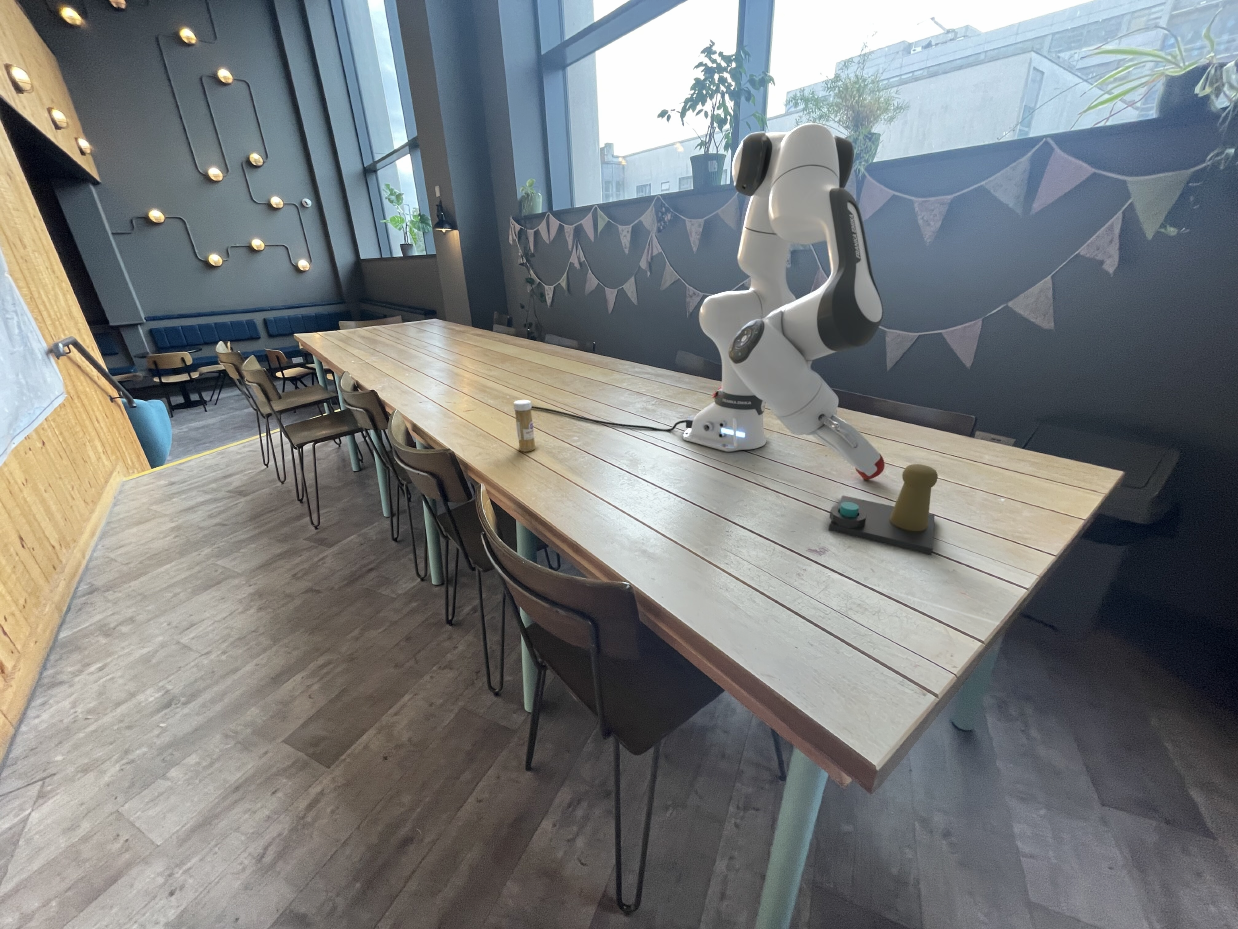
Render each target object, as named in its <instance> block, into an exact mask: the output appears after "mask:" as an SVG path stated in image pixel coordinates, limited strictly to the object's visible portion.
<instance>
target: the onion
mask: <svg viewBox="0 0 1238 929" xmlns="http://www.w3.org/2000/svg"><path fill="white" fill-rule="evenodd" d="M879 454H880V459H879V460H878V461H877V462H876V463H875V464H874V465H875V466H876V467H877V471H876V472H875V473H873V474H872V475H871V476H868V475H866V474H865V473H864V472H861V471H859V470H858V469H856V468H855V467H854V469H855V471H856V473H857V474H858V475H859V476H860V477H861V478H862V479H863V480H864V481H869V480H872V479H875V478H876V477H879V475H881V474H882V473H883V472H884V470H885V460H884V458H883V456H882V454H881V453H880V452H879Z"/></svg>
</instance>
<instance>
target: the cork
mask: <svg viewBox="0 0 1238 929" xmlns="http://www.w3.org/2000/svg"><path fill="white" fill-rule="evenodd" d="M901 476H902V481H903V485H902V487H901V489H900V491H899V494H898V497H897V498H896V501H895V504H894V505H893V506H894V508H893V511H892V513H891V516H890V518H889V519H890V522H891V523H892V524H894V525H895V526H897V527H900V528H902V529H906V530H911V531H922V530H925V529H927V526H928V517H929V514H930V506H931V495H932V488H933V487H934V486H936V484H937V481H938V479H939V477H938V476H939V475H938V473H937V470H936V469H934V468H933V467H931V466H929V465H926V464H920V463H913V464H909V465H907V466H906V467H904V470H903V471H902V475H901Z"/></svg>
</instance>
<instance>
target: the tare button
mask: <svg viewBox="0 0 1238 929" xmlns="http://www.w3.org/2000/svg"><path fill="white" fill-rule="evenodd" d="M858 510H859V506H858V505H857V504H855V503H851V502H843V503H841V506H840V512H839V513H840V514H841V515H843V516H846V517H857V515H858Z"/></svg>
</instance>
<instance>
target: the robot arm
mask: <svg viewBox="0 0 1238 929" xmlns="http://www.w3.org/2000/svg"><path fill="white" fill-rule="evenodd" d="M854 160H855V149H854V146H853V144H852V142H851V140H849V139H847V138H844V137H841V136H839V135H834V134H833V133H832V131H831V130H830V128H828V127H827V126H825V125H823V124H821V123H816V122H809V123H808V122H807V123H803V124H800V125H798V126H796V127H795V128H793V129H792V130H791V131H788V132H785V131H784V132H779V131H778V132H767V133H766V131H764V130H763V131H756V132H752V133H748V134H747V135H746V136H745V137H744V138H743V139H742V140H741V141H740V144H739V146H738V148H737V149H736V152H735V154H734V157H733V161H732V166H731V167H732V168H731V172H732V173H731V174H732V180H733V187H734V188H735V190H736V191H737V193H739V194H741V195H744V196H747V197H750V200H749V203H748V207H747V210H746V214H745V218H744V223H743V227H742V230H741V231H742V232H741V237H740V241H739V247H738V251H737V256H736V258H737V259H736V260H737V263H738V264H737V265H738V266H739V268H740V270H741V271H742V272H743V273H745V274H746V275H748V277H750V287H749V289H748V290H734V291H724V292H719V293H717V294H712V295H710V296H708V297H706V298H705V299H704V301H703V302H702V304H701V306H700V309H699V312H698V321H699V326H700V329H701V330H702V331H703V333H704V334H705V335H706V336H707V337H708V338H709V339H711V341H713V343H714V344H715V346H716V348H717V349H718V352H719V354H720V358H721V359H720V360H721V386H720V387H718V389H717V390H715V391H714V393H712V397H711V398H712V399H714V401H713V402H712V403H710V404H708V405H707V406H706V407H704V408H703V409H701V410H700V411H699V412H697V413H696V414H691V415H689V416H688V417H687V418H686V419H682V420H679V421H677V422H675V423H674V425H673V426H672V427H670V428H658V427H653V426H648V425H637V424H627V423H617V422H610V421H604V420H600V419H599V420H598V419H594V418H588V417H584V416H580V415H577V414H572V413H569V412H564V411H560V410H557V409H552V408H547V407H541V406H535V405H531V409H535V410H541V411H546V412H552V413H555V414H561V415H565V416H567V417H572V418H576V419H580V420H584V421H588V422H592V423H596V424H597V423H598V424H602V425H609V426H617V427H624V428H625V427H626V428H635V429H645V430H646V429H647V430H652V431H658V432H659V431H660V432H672V431H674V430H675V429H676V427H677V426H678V425H680V424H685V428H686V430H685V431H684V432H683V435H682V439H683V441H687V442H690V443H694V444H697V445H701V446H705V447H708V448H713V449H716V450H719V451H722V452H727V453H731V452H736V451H747V450H753V449H754V450H755V449H758V448H759V449H760V447H764V446H765V445H766V443H767V439H766V434H765V426H764V413H765V410H766V406H768V408H769V411H770V412H771V413H772V415H773V416H775V418H776V419H778V421H779V422H780V423H781V424H782V425H783V426H784V427H785V428H786V429H787V430H788V431H789V432H790V433H791V434H793V435H795V436H803V435H805V436H812V438H814V439H815V440H817V441H818V442H820V443H821V444H822V445H823V446H825V447H826V448H828V449H829V450H830V451H832V452H833V453H834V454H836V455H837V456H838V457H840V458H841V459H843V460H844V461H845V462H846V463H848V464H850V466H852V467H854V469H855V468H856V469H858V470H859V471H861V472H864V473H865V474H866V475H868V476H871V475H872V474H873V473H875V472H876V471H877V467H876V466H875V465H874V464H875V463H876V462H877V461H878V460H879V459H880V454H881V453H880V452H879V451H878V450H877V449H876V447H875V446H873V445H872V443H870V442H869V440H868V439H867V438H866V437H865V436H864V435H863V434H862V433H861V432H860V431H859V430H858V429H857V428H856V427H854V426H853V425H852V424H850V422H848V421H846V420H844V419H843V418H841V417H839V416H838V406H839V403H840V402H839V400H840V399H839V397H838V395H837V394H836V392H834V390H833V389H832V388H831V387H830V386H829V385H828V383H827V381H825V380H824V379H823V378H822V377H821V375H820V374H819V373H817V372H816V371H814V370H813V369H812V368H811V366H812V363H813V361H814V360H816V359H819V358H820V359H821V358H822V357H826V356H829V355H831V354H834V353H837V352H843V351H848V350H851V349H855V348H860V347H863V346H866V345H867V344H869V342H871V340H872V339H873V337H874V336H875V335H876V333H877V331H878V329H879V328H880V326H881V323H882V321H883V318H884V305H883V300H882V297H881V295H880V292H879V289H878V286H877V284H876V280H875V279H874V275H873V274H874V273H873V268H872V264H871V258H870V252H869V247H868V246H869V245H868V241H867V236H866V231H865V226H864V221H863V217H862V213H861V210H860V207H859V204H858V202H857V200H856V199H855V197H854V196H853V195H852V193H851V192H849V190H847V189H846V186H847V183H848V182H849V179H850V178H851V175H852V172H853V168H854ZM823 242H826V246H827V247H826V248H827V252H828V260H829V266H830V267H829V268H830V274H829V277H828V279H827V280H826V281H825V282H824V283H823V284H822V285H821V286H820V287H819V288H817V289H815V290H814V291H812V292H810V293H808V294H805V295H804V296H801V297H800V298H796V296H795V295H794V294H793V293H792V291H790V287H789V285H788V282H787V281H788V280H787V265H788V264H787V263H788V258H789V254H790V249H791V246H792V244H794V245H806V246H807V245H808V246H809V245H815V244H817V243H823ZM879 453H880V454H879ZM856 469H855V470H856Z"/></svg>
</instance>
